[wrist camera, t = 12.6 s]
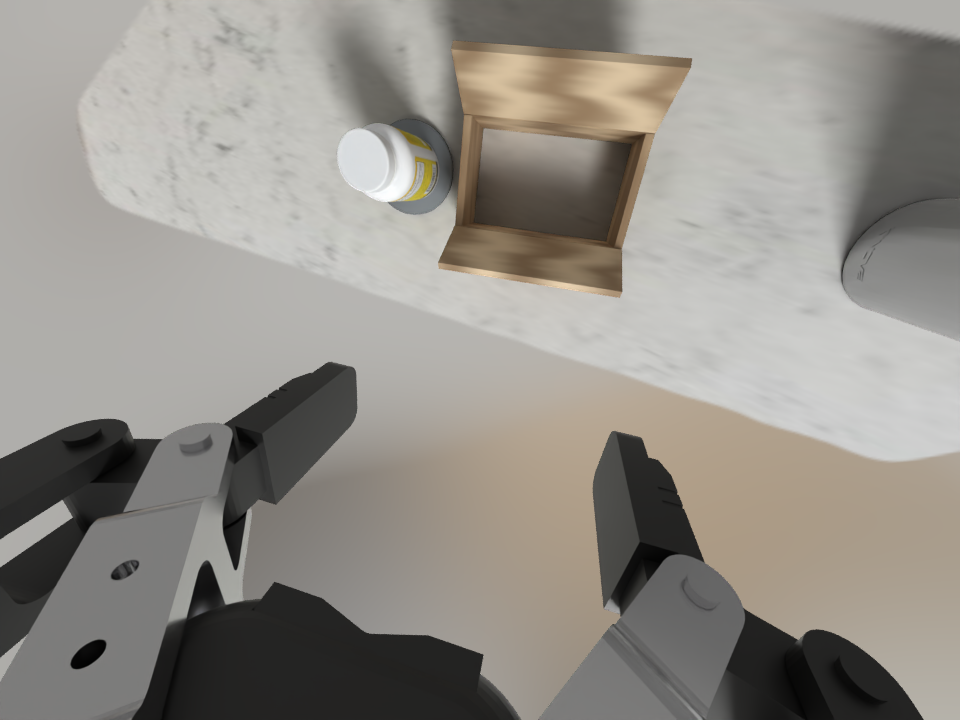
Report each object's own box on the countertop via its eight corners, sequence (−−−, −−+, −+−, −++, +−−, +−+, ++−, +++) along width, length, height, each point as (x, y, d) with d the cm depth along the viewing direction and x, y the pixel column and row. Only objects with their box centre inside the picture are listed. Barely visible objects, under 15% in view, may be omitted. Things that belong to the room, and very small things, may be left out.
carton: (651, 100, 28) (694, 56, 19) (603, 274, 34) (620, 298, 26) (481, 85, 30) (451, 38, 21) (465, 253, 36) (437, 269, 27)
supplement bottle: (377, 149, 33) (313, 132, 24) (428, 126, 31) (379, 98, 22) (400, 208, 35) (348, 212, 26) (448, 189, 33) (410, 187, 24)
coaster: (456, 125, 31) (454, 123, 31) (449, 219, 35) (448, 219, 34) (374, 116, 32) (371, 114, 32) (375, 208, 36) (373, 208, 35)
